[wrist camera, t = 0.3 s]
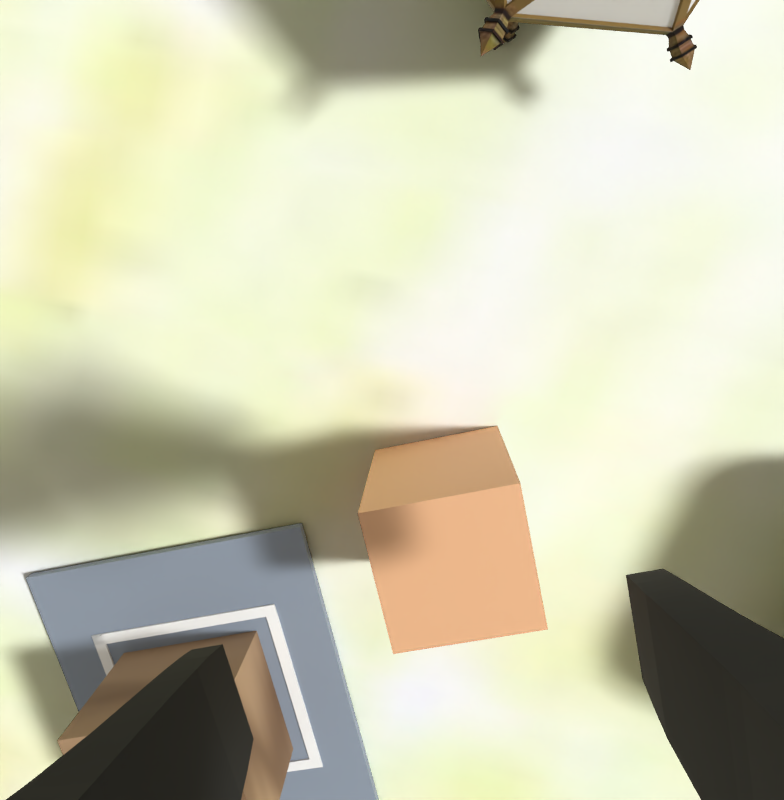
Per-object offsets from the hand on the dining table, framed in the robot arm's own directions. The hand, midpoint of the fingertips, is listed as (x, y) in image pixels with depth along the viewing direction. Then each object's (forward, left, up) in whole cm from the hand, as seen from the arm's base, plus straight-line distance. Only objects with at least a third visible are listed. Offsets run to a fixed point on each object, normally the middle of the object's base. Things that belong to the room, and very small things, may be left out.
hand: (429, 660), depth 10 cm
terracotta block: (-1, 0, -10) cm, 10 cm away
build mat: (-7, +10, -9) cm, 15 cm away
